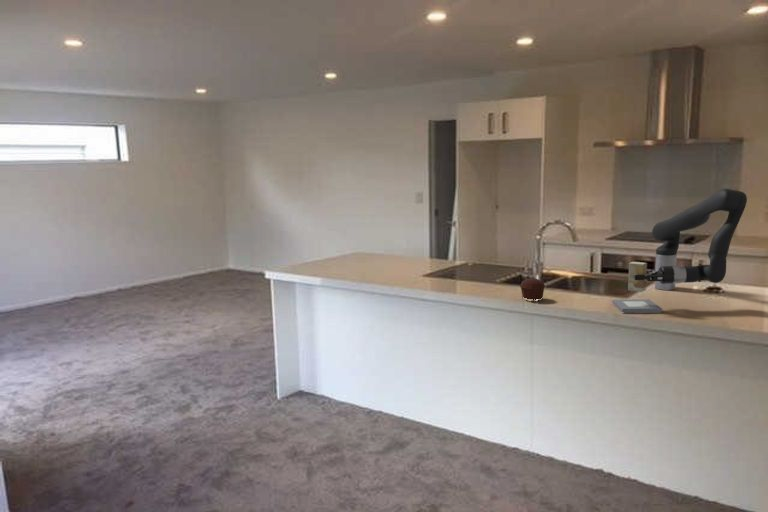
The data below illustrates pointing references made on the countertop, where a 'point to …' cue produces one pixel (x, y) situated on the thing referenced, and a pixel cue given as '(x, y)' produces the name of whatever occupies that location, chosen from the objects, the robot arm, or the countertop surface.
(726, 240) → the robot arm
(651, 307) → the plate
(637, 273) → the skincare box
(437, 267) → the countertop surface
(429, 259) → the countertop surface
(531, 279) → the muffin
